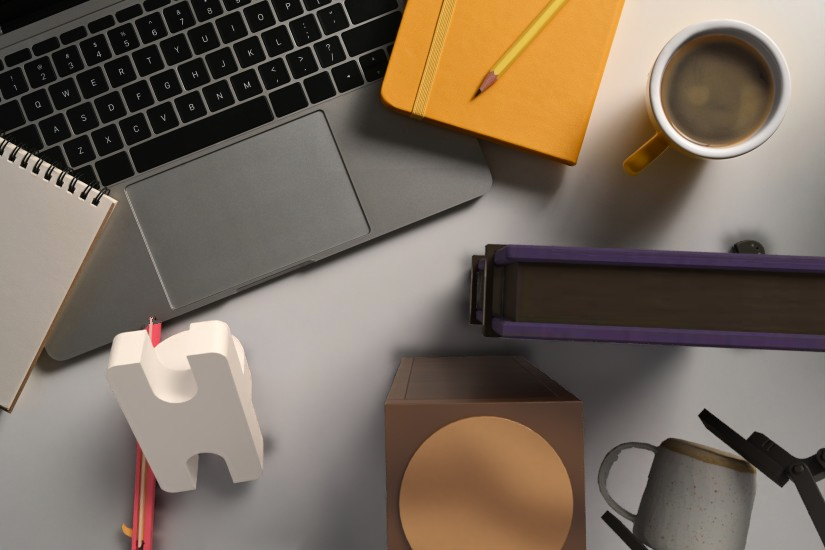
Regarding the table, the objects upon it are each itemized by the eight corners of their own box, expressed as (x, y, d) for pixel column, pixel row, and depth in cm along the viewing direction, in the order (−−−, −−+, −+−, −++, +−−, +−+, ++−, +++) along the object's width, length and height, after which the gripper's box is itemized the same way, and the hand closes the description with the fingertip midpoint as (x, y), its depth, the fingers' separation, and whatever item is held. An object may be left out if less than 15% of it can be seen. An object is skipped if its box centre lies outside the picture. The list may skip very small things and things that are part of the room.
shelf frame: (524, 476, 69) (582, 590, 43) (404, 477, 69) (389, 592, 43) (521, 355, 69) (577, 396, 43) (402, 357, 70) (385, 399, 44)
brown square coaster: (582, 590, 43) (589, 604, 41) (389, 592, 43) (387, 605, 41) (577, 396, 43) (584, 401, 41) (385, 399, 44) (383, 404, 42)
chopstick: (168, 562, 68) (118, 563, 67) (171, 553, 70) (122, 555, 69) (180, 318, 69) (130, 316, 68) (183, 317, 71) (135, 315, 70)
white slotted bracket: (265, 478, 67) (265, 392, 75) (224, 350, 55) (230, 265, 63) (163, 494, 66) (175, 405, 74) (100, 367, 54) (122, 279, 63)
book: (705, 267, 69) (918, 252, 39) (703, 331, 69) (915, 364, 39) (468, 258, 70) (498, 235, 40) (466, 320, 69) (493, 346, 39)
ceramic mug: (736, 449, 56) (784, 473, 48) (712, 548, 56) (757, 589, 48) (607, 416, 56) (635, 435, 48) (583, 515, 56) (607, 550, 48)
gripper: (844, 911, 38) (572, 585, 54) (1122, 618, 38) (768, 380, 54) (829, 932, 33) (534, 565, 49) (1152, 593, 33) (751, 338, 49)
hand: (657, 468), depth 52 cm, fingers closed on ceramic mug, 10 cm apart
